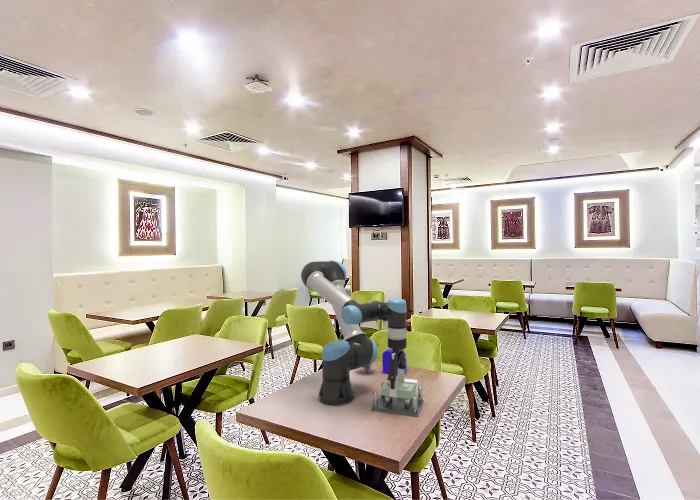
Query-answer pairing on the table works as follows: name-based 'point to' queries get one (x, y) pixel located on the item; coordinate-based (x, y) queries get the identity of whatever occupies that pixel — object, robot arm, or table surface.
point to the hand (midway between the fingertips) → (397, 390)
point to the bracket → (387, 361)
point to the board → (399, 390)
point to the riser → (412, 381)
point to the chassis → (398, 404)
